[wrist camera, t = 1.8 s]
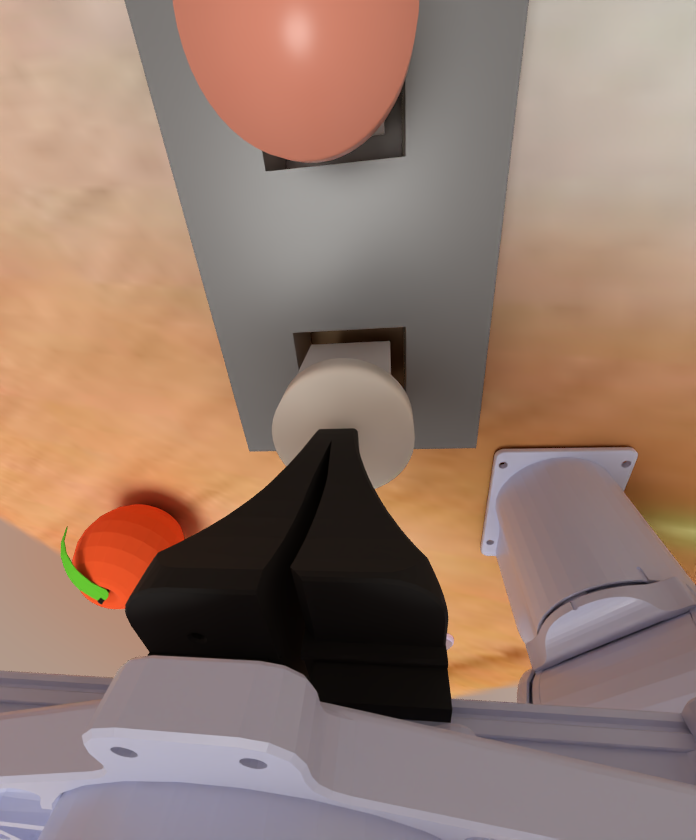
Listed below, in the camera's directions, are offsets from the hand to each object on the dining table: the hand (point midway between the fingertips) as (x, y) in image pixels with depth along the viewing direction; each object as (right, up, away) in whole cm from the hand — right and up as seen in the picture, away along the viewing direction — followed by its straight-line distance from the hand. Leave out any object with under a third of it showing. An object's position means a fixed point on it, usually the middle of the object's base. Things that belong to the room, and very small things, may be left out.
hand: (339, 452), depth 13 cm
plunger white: (+1, +3, +5) cm, 6 cm away
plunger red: (0, +12, -1) cm, 12 cm away
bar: (0, +9, +5) cm, 11 cm away
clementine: (-15, -6, +16) cm, 23 cm away
